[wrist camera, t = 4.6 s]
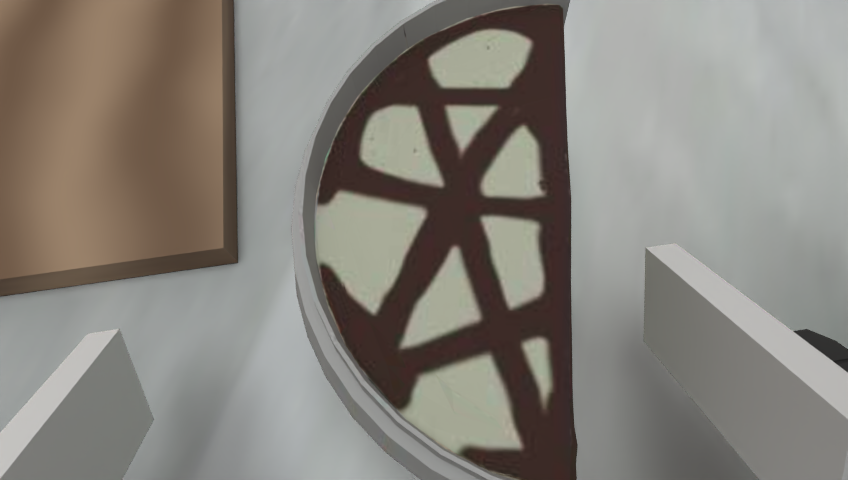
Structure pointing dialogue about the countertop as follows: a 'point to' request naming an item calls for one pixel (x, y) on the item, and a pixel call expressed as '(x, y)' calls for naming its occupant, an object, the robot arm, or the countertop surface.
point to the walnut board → (115, 140)
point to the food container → (447, 242)
